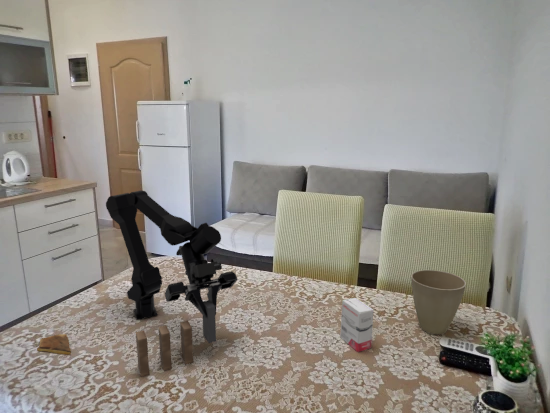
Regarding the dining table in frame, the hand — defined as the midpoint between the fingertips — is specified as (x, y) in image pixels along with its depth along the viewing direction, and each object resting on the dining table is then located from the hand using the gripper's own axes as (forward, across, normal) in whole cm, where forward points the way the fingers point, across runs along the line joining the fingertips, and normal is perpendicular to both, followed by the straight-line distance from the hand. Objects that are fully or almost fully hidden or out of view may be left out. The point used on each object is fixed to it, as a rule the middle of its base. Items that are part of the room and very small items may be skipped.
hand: (210, 316), depth 104 cm
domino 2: (+7, -12, +10) cm, 16 cm away
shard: (-9, -34, +27) cm, 44 cm away
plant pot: (+22, +63, -6) cm, 67 cm away
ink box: (+18, +38, -2) cm, 42 cm away
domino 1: (+6, -17, +10) cm, 21 cm away
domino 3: (+7, -6, +9) cm, 13 cm away
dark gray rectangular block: (+4, 0, +6) cm, 7 cm away
